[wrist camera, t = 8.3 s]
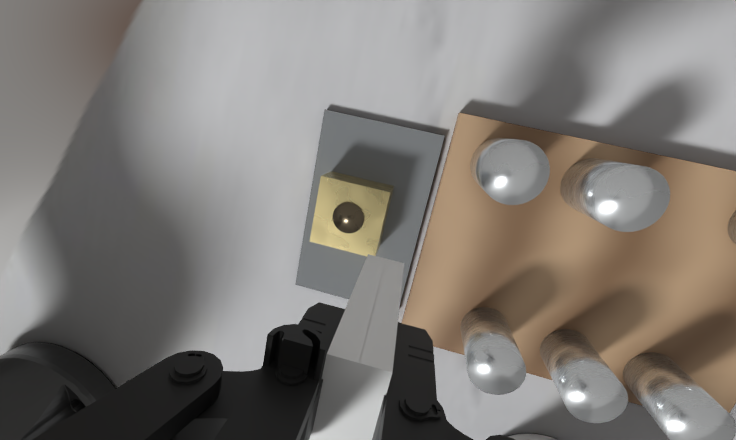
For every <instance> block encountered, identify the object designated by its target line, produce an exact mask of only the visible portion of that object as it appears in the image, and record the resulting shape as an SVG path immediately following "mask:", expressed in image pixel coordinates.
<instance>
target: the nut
mask: <svg viewBox="0 0 736 440" xmlns="http://www.w3.org/2000/svg"><path fill="white" fill-rule="evenodd" d="M393 188H394V186H391V185H387V184H383V183H379V182H375V181H370V180H366V179H362V178H358V177H354V176H350V175H345V174H341V173H337V172H333V171H331V172H329V173H326V174H324V175H321V178H320V184H319V190H318V195H317V201H316V207H315V213H314V218H313V224H312V230H311V236H310V242H314V243H317V244H321V245H325V246H329V247H333V248H336V249H340V250H344V251H348V252H352V253H355V254H359V255H363V256H368V254H369V255H373V256H376V254H377V252H378V249H379V247H380V243H381V239H382V235H383V231H384V226H385V222H386V218H387V214H388V210H389V205H390V201H391V197H392V193H393Z"/></svg>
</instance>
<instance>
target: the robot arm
mask: <svg viewBox="0 0 736 440" xmlns="http://www.w3.org/2000/svg"><path fill="white" fill-rule="evenodd" d="M403 270H404V263H401V262H397V261H393V260H389V259H385V258H381V257H377V256H373V255H369V254H368V256H367V258H366V260H365V263H364V265H363V268H362V270H361V272H360V275H359V277H358V280H357V282H356V285H355V287H354V289H353V292H352V294H351V297H350V299H349V301H348V304H347V306H346V309H342V308H338V307H334V306H331V305H327V304H323V303H317V304H316V305H314V306H312V307H310V308H308V310H307V311H306V313H305V315H304V316H303V318H302V320H301V321H300V323H299V324H298V325H297V324H291V325H283V326H280V327H277V328H275V329H273V330H272V331H271V332H270V333H269V334H268V336H267V342H266V349H265V355H264V362H263V366H262V368H261V369H258V370H254V371H245V372H235V371H223V366H222V363H221V360H220V359H218V358H217V357H216V356H215V355H214V354H211V353H208V352H205V351H186V352H181V353H177V354H175V355H172V356H170V357H168V358H166V359H164V360H162V361H161V362H159V363H157V364H156V365H154V366H153V367H151V368H149V369H148V370H146V371H144V372H143V373H141V374H139V375H138V376H136V377H134V378H133V379H131V380H130V381H128V382H126V383H125V384H123V385H121V386H120V387H118V388H116V389H115V388H114V386H113V385H112V384H111V382H110V381H109V380H108V379H107V378H106V377H105V375H104V374H103V373H102V372H101V371H100V370H98V369H97V368H96V367H95V366H94V365H93V364H91V363H90V362H89V361H87V360H86V359H85V358H83V357H81V356H80V355H78V354H76V353H74V352H72V351H70V350H68V349H66V348H63V347H60V346H57V345H54V344H49V343H39V342H38V343H27V344H23V345H20V346H18V347H16V348H14V349H12V350H10V351H8V352H7V353H5V354H3V355H1V356H0V440H473V439H471V438H469V437H468V436H466V435H464V434H463V433H461V432H460V431H458V430H457V429H455V428H454V427H453V426H452V425H451V424H450V423H449V422H448V421H447V420H446V416H445V413H444V410H443V407H442V406H441V405H440V403H439V402H438V401H437V396H436V381H435V367H434V354H433V341H432V339H431V337H430V336H429V334H428V333H427V331H426V330H425V329H421V328H417V327H414V326H410V325H406V324H402V323H399V322H398V316H399V307H400V298H401V288H402V279H403ZM486 440H515V439H513V438H510V437H506V436H503V435H496V436H490V437H489V438H487V439H486Z"/></svg>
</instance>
